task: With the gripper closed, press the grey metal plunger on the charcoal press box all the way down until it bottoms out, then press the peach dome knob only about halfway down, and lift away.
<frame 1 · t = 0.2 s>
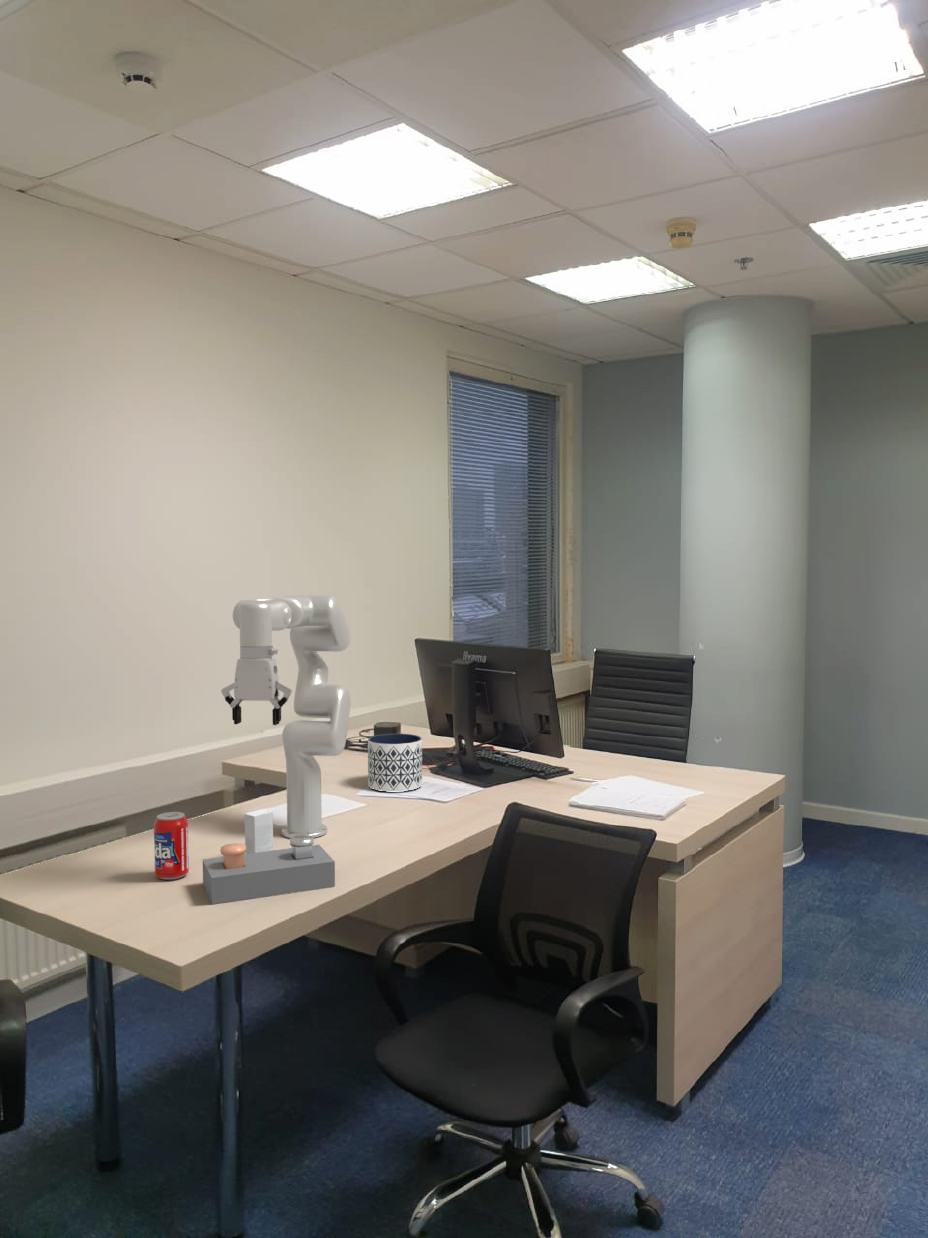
hand: (256, 723, 225), 37 cm above the table, tool pointing down, fingers open, 9 cm apart
peach dome knob: (233, 860, 214), point 7 cm above the table, slide at 0.0 cm
planter: (395, 787, 313), on the table
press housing: (268, 885, 218), on the table
skincare box: (259, 859, 238), on the table
grey plunger: (301, 851, 221), point 7 cm above the table, slide at 0.0 cm
soda can: (172, 877, 225), on the table
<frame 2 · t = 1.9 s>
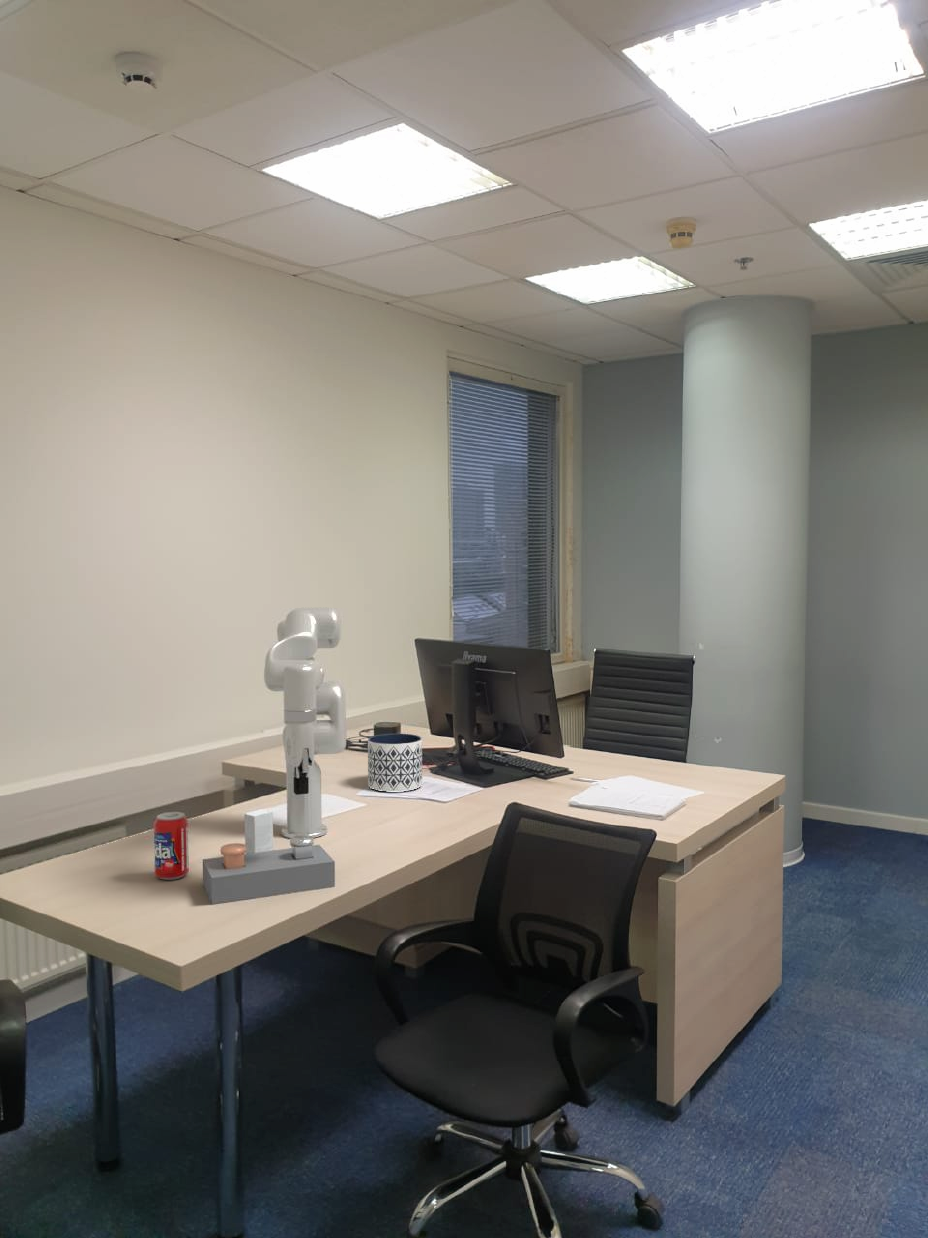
hand: (301, 793, 220), 21 cm above the table, tool pointing down, fingers closed
nothing on the table moved.
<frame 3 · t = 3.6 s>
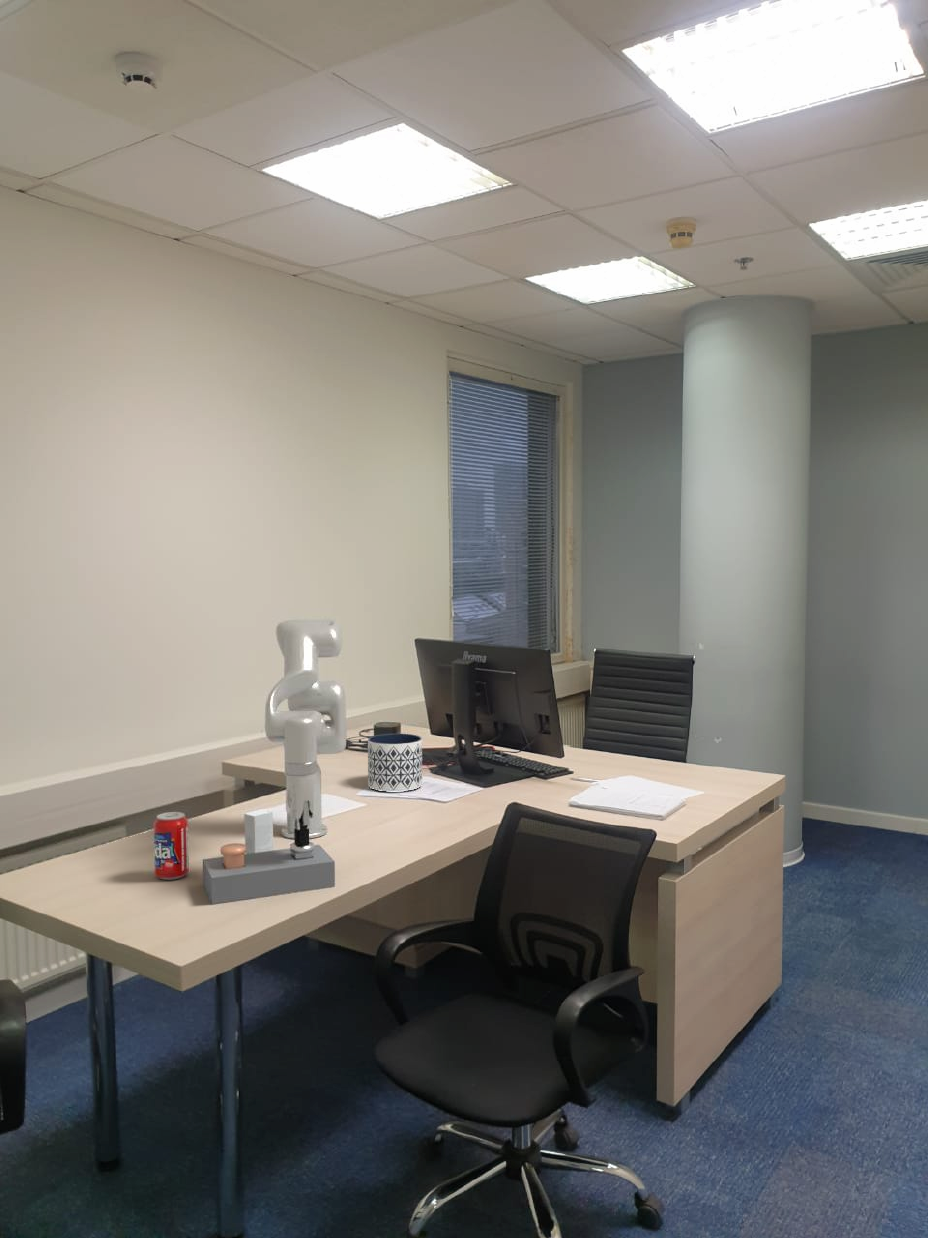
hand: (301, 845, 221), 9 cm above the table, tool pointing down, fingers closed
grey plunger: (302, 857, 221), point 6 cm above the table, slide at 1.5 cm, touching gripper
everything else where it was.
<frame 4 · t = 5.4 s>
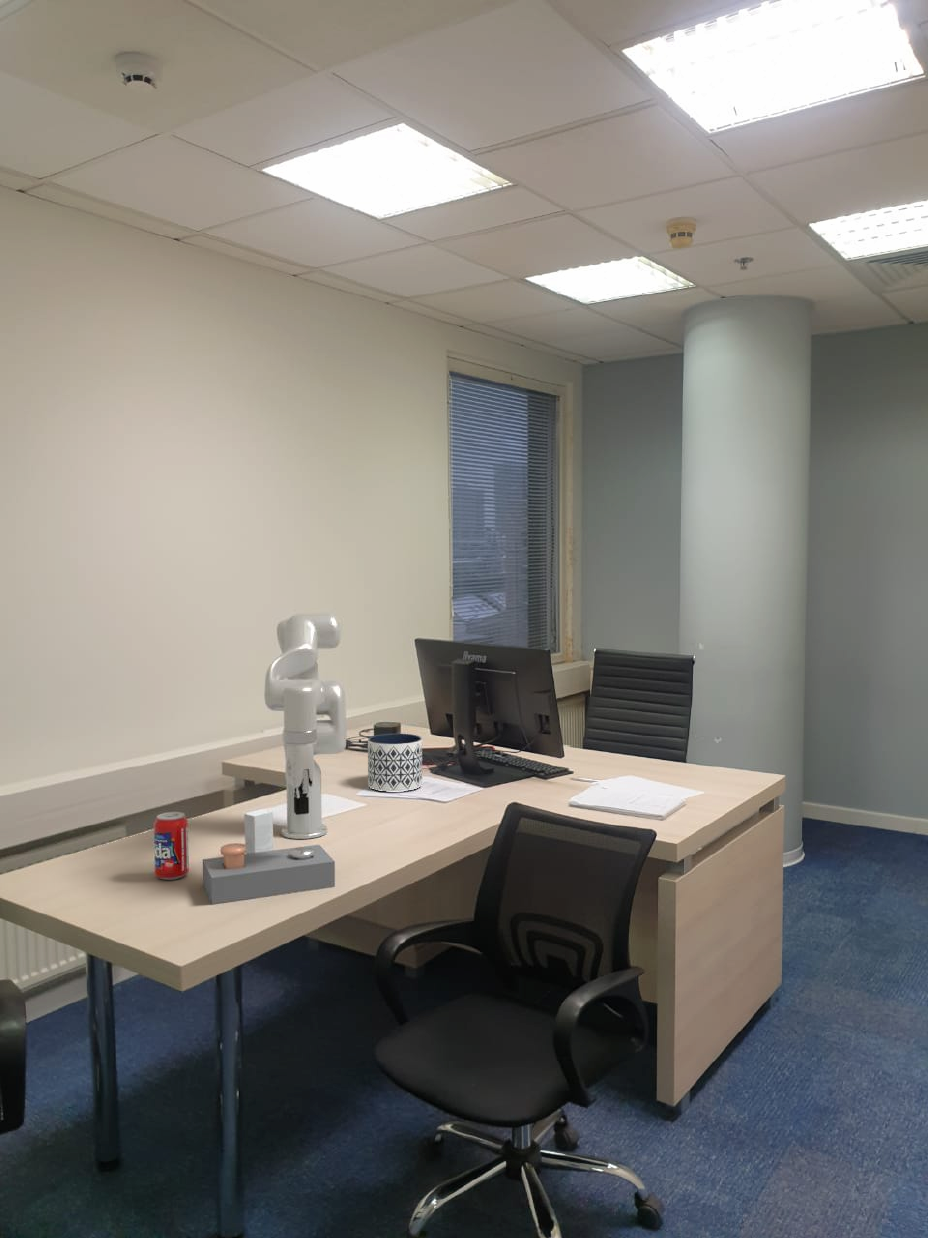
hand: (301, 813, 221), 16 cm above the table, tool pointing down, fingers closed
grey plunger: (302, 863, 221), point 4 cm above the table, slide at 2.9 cm
everything else where it was.
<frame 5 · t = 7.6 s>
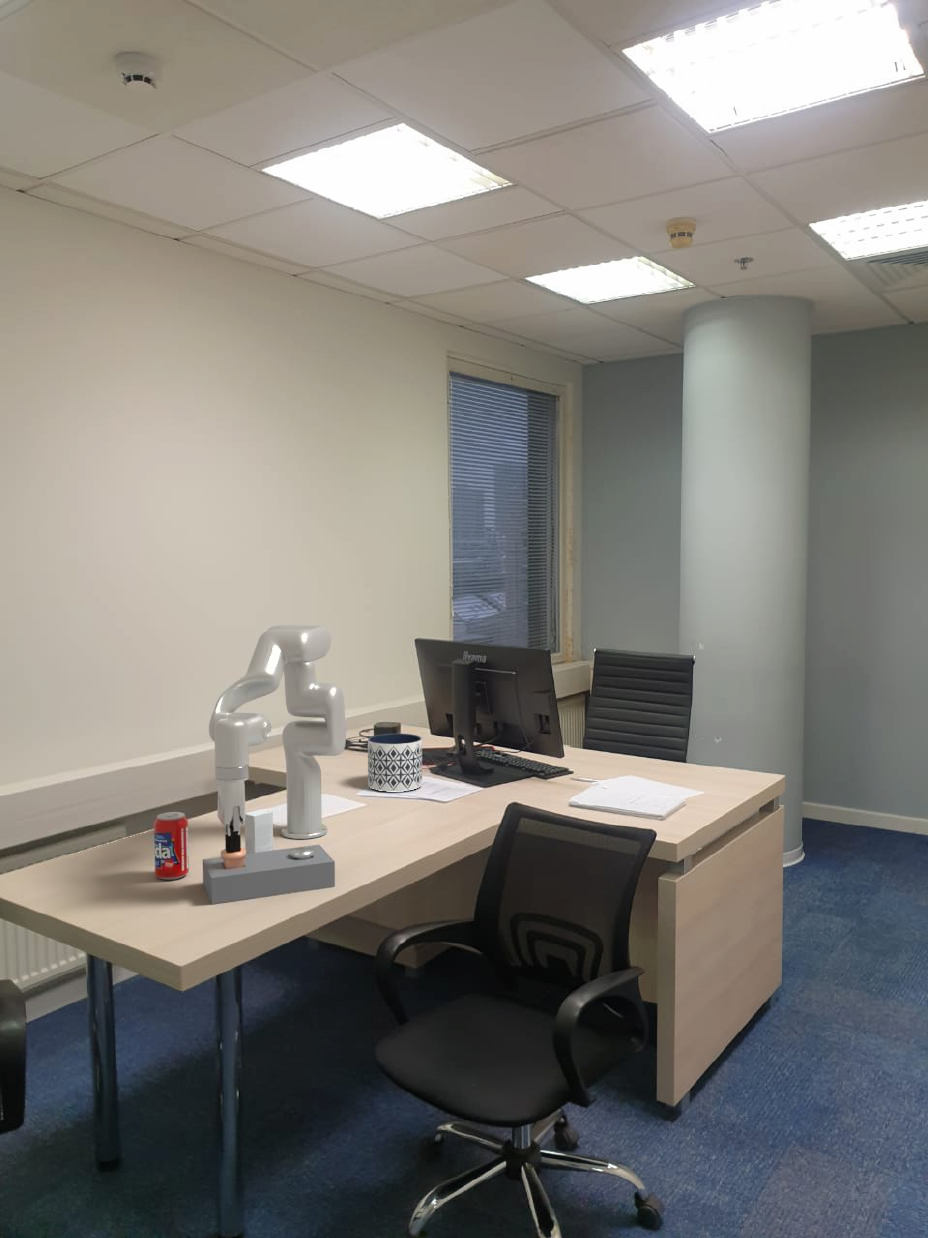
hand: (233, 851, 214), 9 cm above the table, tool pointing down, fingers closed
peach dome knob: (233, 864, 215), point 6 cm above the table, slide at 1.0 cm, touching gripper
everything else where it was.
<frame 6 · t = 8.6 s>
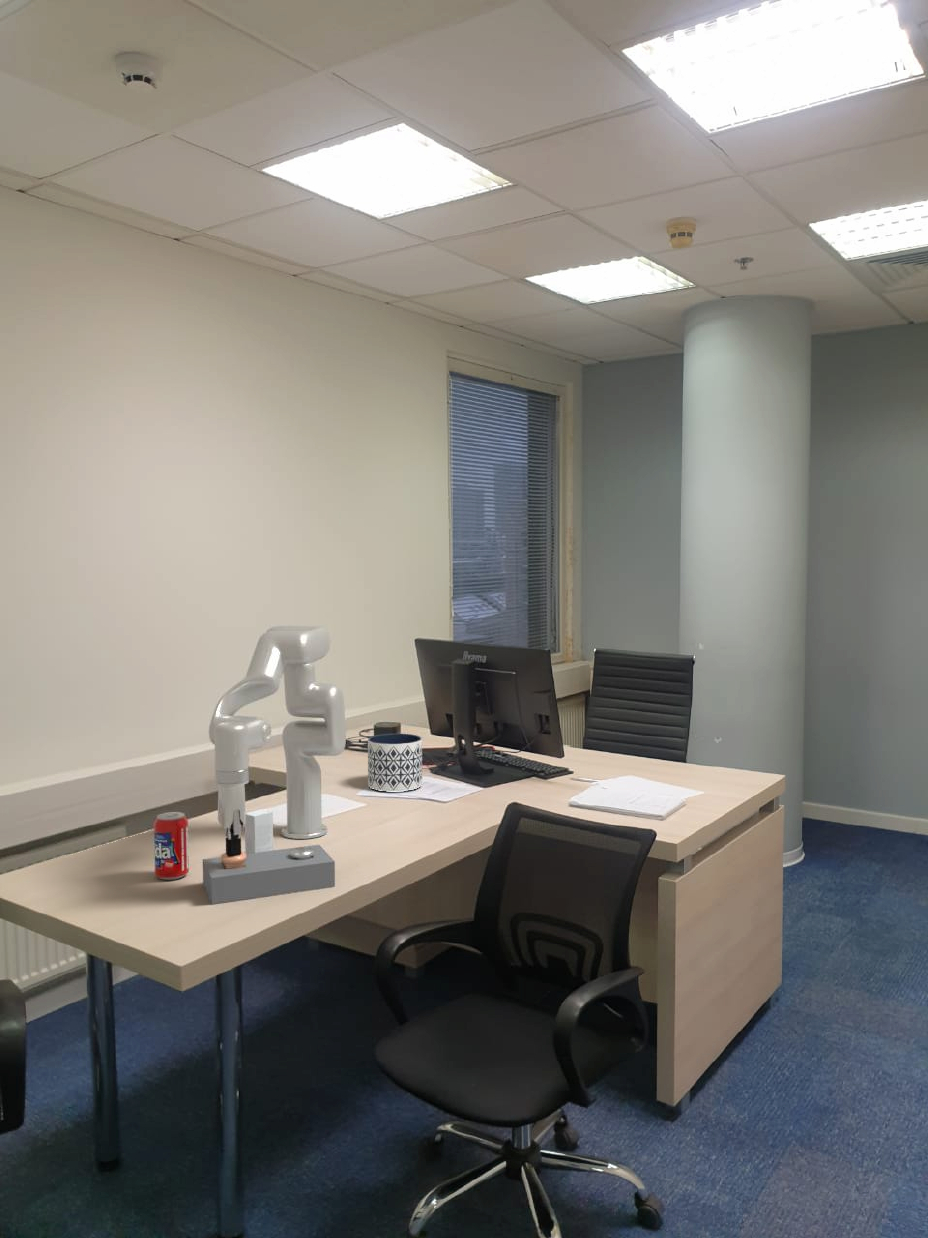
hand: (233, 854, 214), 8 cm above the table, tool pointing down, fingers closed
peach dome knob: (233, 868, 215), point 5 cm above the table, slide at 1.9 cm
everything else where it was.
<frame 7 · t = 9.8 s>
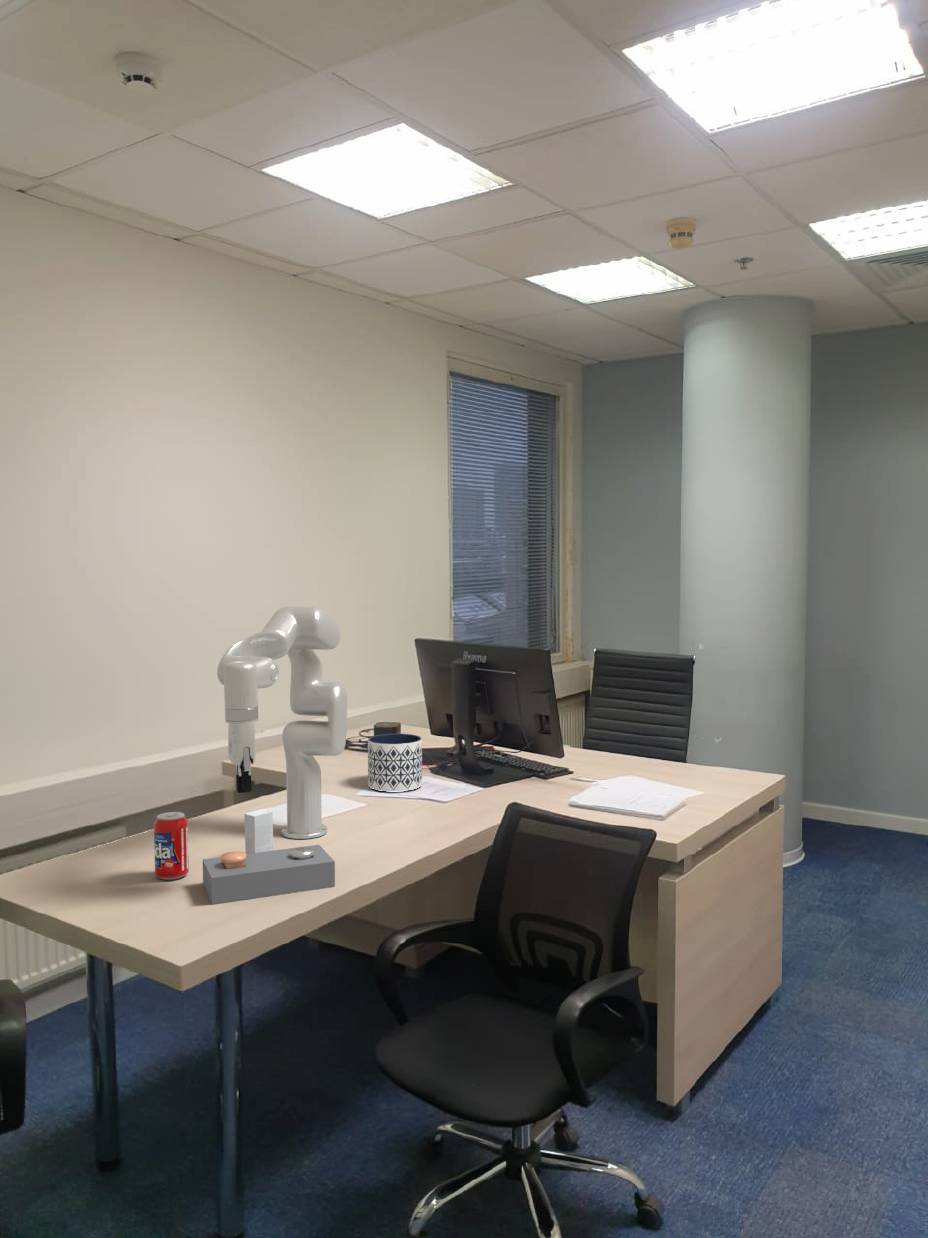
hand: (244, 791, 218), 22 cm above the table, tool pointing down, fingers closed
nothing on the table moved.
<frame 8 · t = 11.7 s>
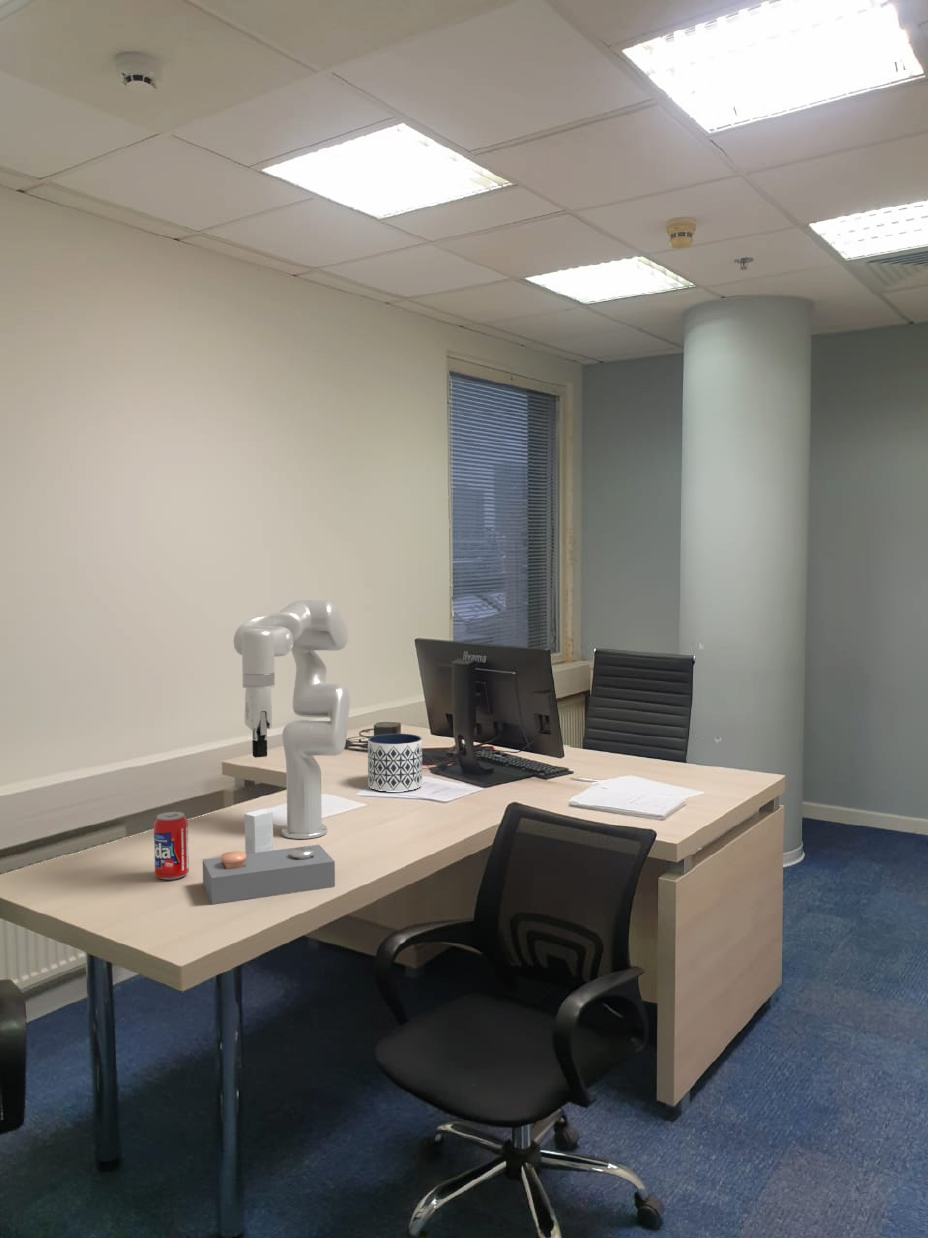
hand: (259, 756, 224), 29 cm above the table, tool pointing down, fingers closed
nothing on the table moved.
at the end: grey plunger slide at 2.9 cm; peach dome knob slide at 1.9 cm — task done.
